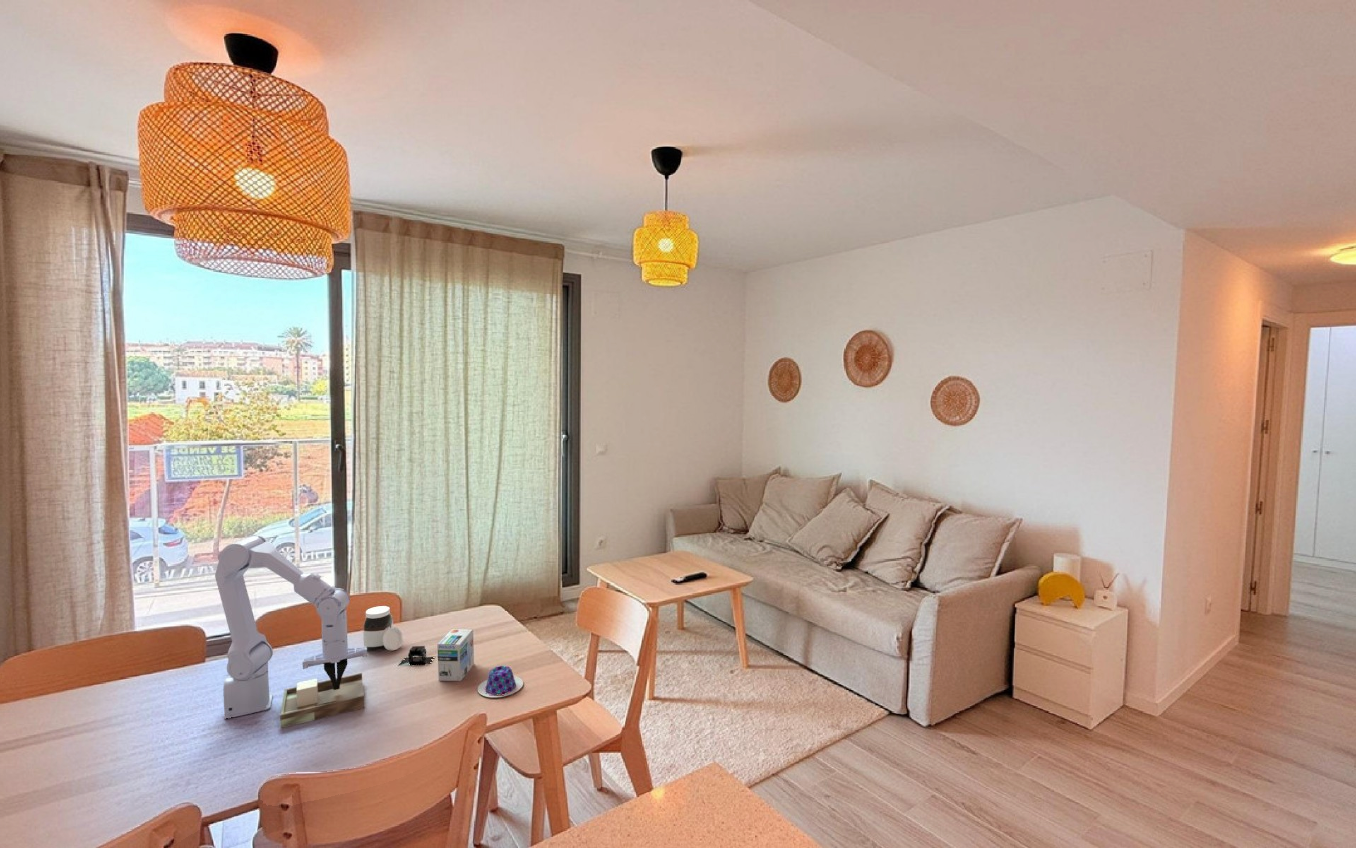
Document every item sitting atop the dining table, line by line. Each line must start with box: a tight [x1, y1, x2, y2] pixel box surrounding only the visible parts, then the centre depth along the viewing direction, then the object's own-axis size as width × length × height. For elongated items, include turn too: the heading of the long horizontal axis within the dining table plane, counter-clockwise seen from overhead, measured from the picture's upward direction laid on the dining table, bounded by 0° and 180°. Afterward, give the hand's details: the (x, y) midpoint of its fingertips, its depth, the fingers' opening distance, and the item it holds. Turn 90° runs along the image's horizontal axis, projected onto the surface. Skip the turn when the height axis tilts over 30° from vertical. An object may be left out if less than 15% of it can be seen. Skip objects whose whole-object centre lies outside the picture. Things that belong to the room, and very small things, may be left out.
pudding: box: [477, 665, 524, 698], centre depth 164 cm, size 12×12×5 cm
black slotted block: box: [397, 645, 436, 667], centre depth 179 cm, size 12×7×5 cm, turn 94°
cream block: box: [296, 678, 319, 707], centre depth 153 cm, size 4×4×4 cm
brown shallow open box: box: [279, 672, 365, 729], centre depth 155 cm, size 18×14×3 cm
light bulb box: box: [437, 628, 475, 682], centre depth 172 cm, size 11×7×11 cm, turn 179°
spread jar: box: [362, 605, 404, 652], centre depth 189 cm, size 12×11×12 cm
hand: (336, 688), depth 156 cm, fingers closed
